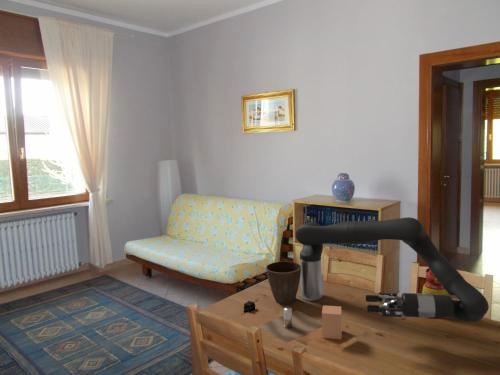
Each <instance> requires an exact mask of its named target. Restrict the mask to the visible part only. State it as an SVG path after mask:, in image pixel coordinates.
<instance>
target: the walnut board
mask: <svg viewBox="0 0 500 375" xmlns="http://www.w3.org/2000/svg"><path fill="white" fill-rule="evenodd" d="M257 327H259V328H260V329H262V330H264V331H266V332H267V333H269V334H270V335H272V336H274V337H275V338H277V339H278V340H281V341H282V342H285V343H289V342H291V341H294V340H297V339H298V338H300V337H302V336H305V335H307V334H309V333H311V332H314V331H316V330H318V329H321V328H322V320H321V321H320V320H318V319H316V318H314V317H312V316H310V315H308V314H306V313H304V312H301V311H299V310H294V311H293V312H292V328H290V329H286V328H284V315H281V316H279V317H277V318H274V319H272V320H269V321H267V322H264V323H262V324H259V325H257Z"/></svg>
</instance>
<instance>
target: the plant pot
mask: <svg viewBox="0 0 500 375" xmlns="http://www.w3.org/2000/svg"><path fill="white" fill-rule="evenodd" d="M265 270H266V276H267V280H268V283H269V287H270V291H271V293H272V296H273V298H274V301H275V303H278V304H280V305H289V304H292V303H294V302H295V300H296V297H297V294H298V291H299V286H300V282H301V279H300V275H301V265H300V263H297V262H293V261H285V260H283V261H276V262H272V263H269V264H267V265H266V267H265Z"/></svg>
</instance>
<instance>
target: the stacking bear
mask: <svg viewBox="0 0 500 375" xmlns="http://www.w3.org/2000/svg"><path fill="white" fill-rule="evenodd" d="M425 279H426V281H425V283H424V284H423V287H422V292H421V294H430V295H446V296H449V293H448V292H447V291H446V290H445V289H444V288H443V286H442V285H441V284H440V283H439V281H438V280H437V279H436V278H435V276H434V275H433V273H432V272H431V270H430V269H429V267H428V268H426V270H425ZM432 318H434V317H429V318H428V319H432ZM439 318H441V317H439ZM441 319H442V318H441ZM443 319H444V320H445V319H446V320H451V319H452V318H443Z"/></svg>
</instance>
